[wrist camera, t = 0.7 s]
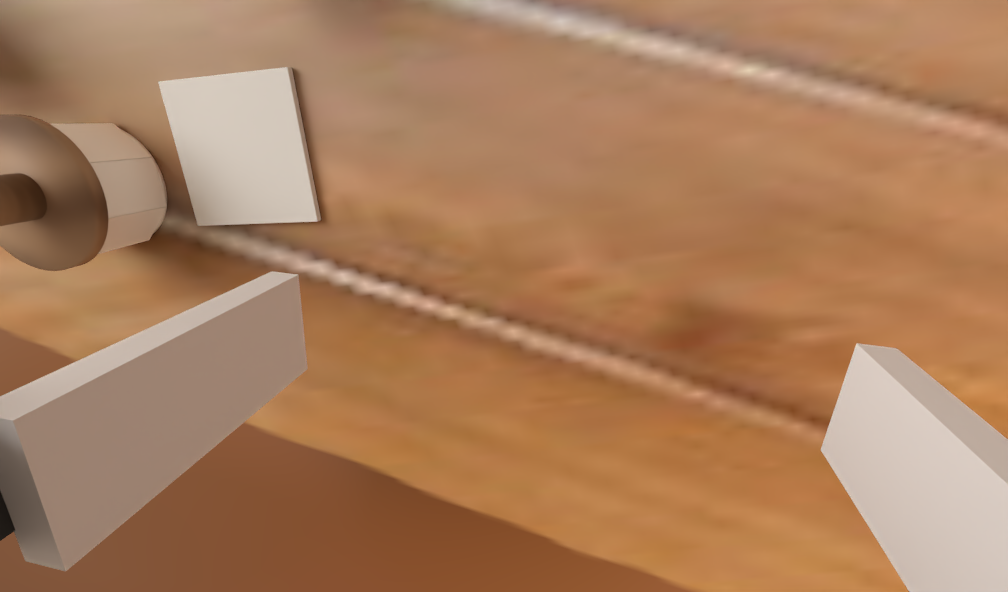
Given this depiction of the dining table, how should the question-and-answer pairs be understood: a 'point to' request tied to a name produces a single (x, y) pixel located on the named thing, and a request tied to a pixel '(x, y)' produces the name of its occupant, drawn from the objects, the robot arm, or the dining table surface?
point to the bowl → (122, 181)
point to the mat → (242, 147)
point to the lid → (48, 197)
